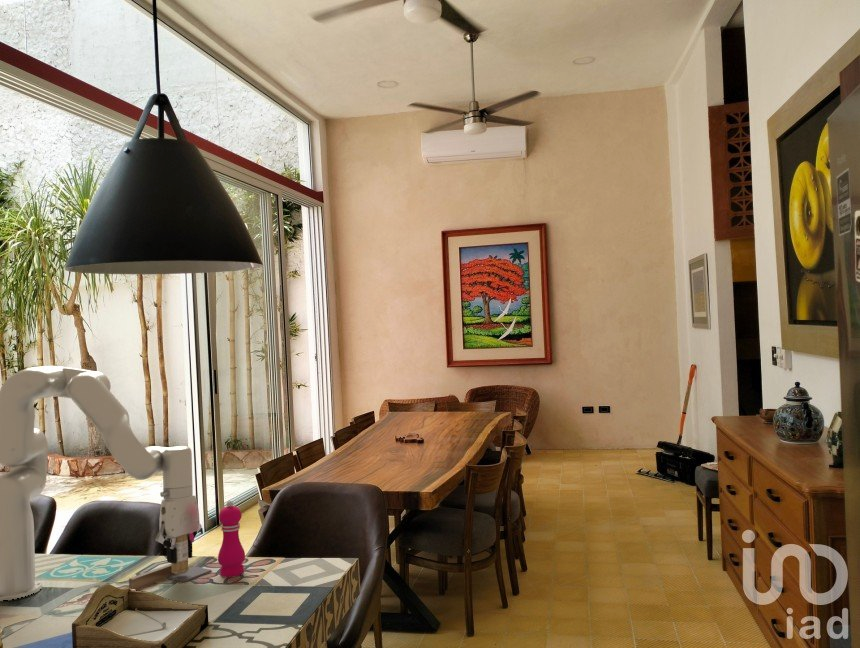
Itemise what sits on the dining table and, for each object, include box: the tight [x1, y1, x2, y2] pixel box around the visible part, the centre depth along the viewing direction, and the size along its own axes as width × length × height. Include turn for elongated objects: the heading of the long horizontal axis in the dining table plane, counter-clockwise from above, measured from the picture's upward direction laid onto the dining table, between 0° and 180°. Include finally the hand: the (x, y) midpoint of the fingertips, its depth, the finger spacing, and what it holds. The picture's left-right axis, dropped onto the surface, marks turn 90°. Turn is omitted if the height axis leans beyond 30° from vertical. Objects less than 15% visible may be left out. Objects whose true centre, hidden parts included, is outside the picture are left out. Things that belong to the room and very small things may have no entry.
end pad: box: [167, 566, 212, 583], centre depth 189 cm, size 7×9×1 cm
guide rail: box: [128, 563, 175, 590], centre depth 186 cm, size 2×17×3 cm, turn 149°
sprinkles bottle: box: [171, 534, 190, 574], centre depth 187 cm, size 5×5×13 cm
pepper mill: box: [217, 500, 246, 578], centre depth 189 cm, size 7×7×20 cm
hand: (179, 559), depth 187 cm, fingers closed on sprinkles bottle, 4 cm apart
